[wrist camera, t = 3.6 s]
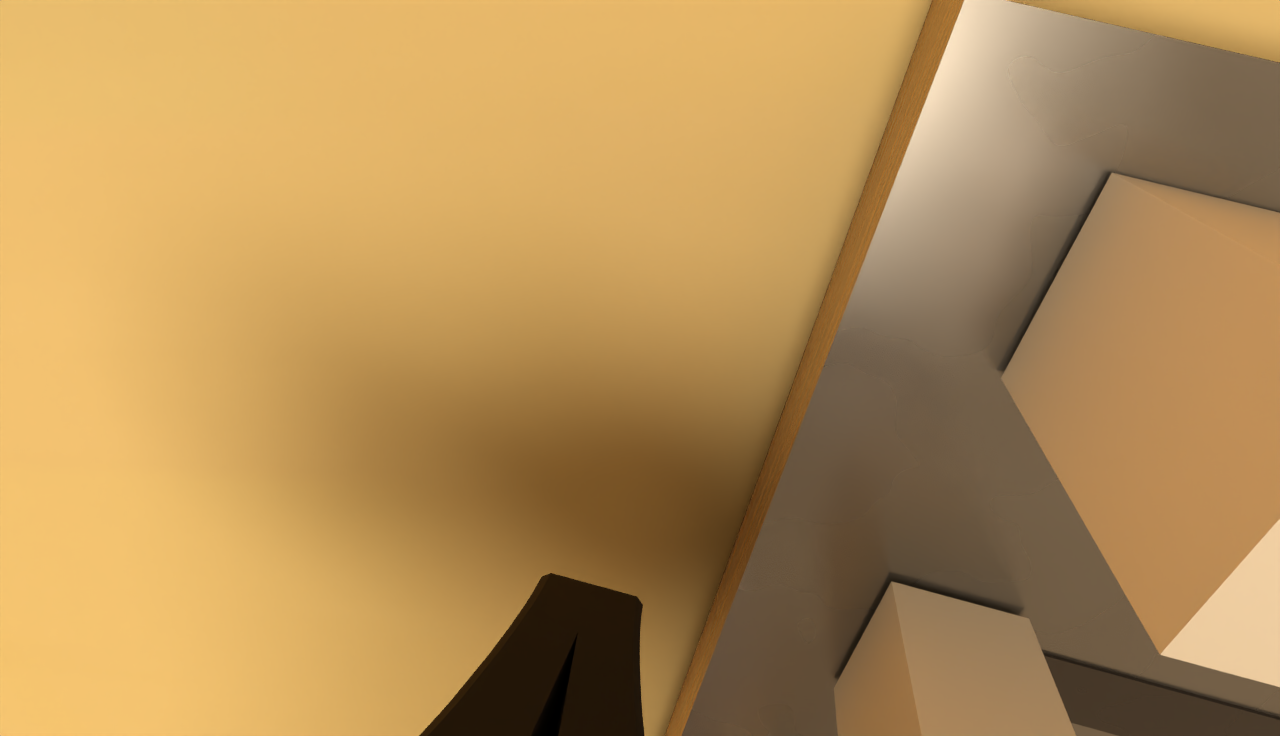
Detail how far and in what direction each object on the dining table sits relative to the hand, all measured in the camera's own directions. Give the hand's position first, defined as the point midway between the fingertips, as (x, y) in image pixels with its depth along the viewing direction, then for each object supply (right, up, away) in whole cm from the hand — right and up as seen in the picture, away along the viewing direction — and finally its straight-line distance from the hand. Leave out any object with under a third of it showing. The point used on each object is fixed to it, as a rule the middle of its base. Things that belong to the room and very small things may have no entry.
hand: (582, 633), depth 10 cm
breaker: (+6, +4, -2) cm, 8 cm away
